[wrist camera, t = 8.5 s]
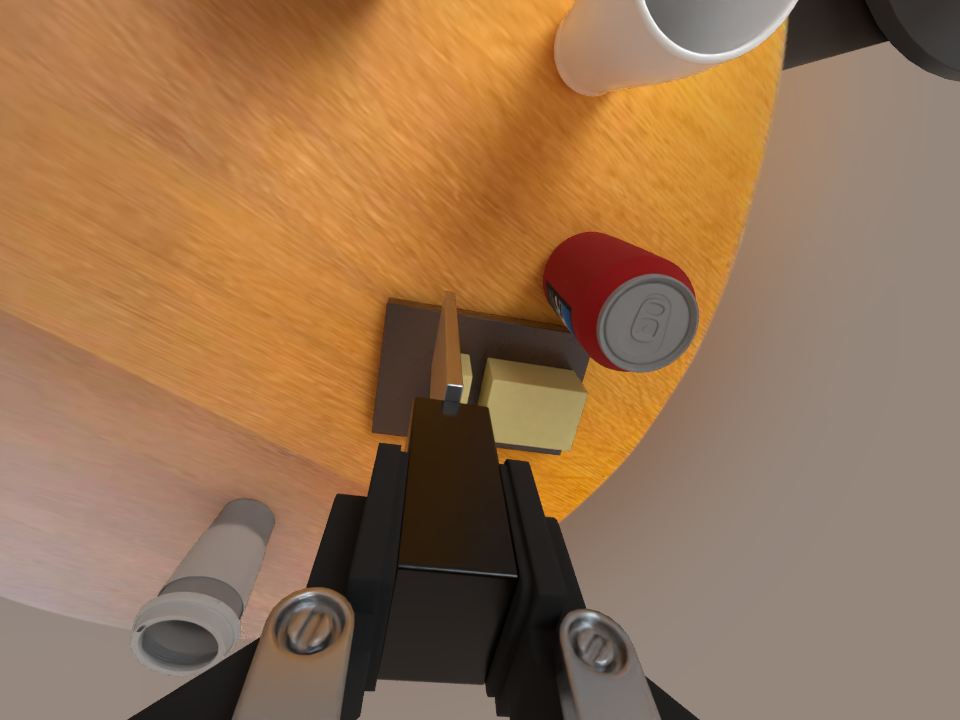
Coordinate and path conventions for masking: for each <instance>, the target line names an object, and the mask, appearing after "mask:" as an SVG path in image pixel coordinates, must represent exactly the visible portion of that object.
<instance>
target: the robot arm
mask: <svg viewBox="0 0 960 720" xmlns="http://www.w3.org/2000/svg"><path fill="white" fill-rule="evenodd" d="M408 458H409V453H408V452H402V451H401V445H394V444H387V443H379V446H378V451H377V455H376V460H375V464H374V468H373V473H372V477H371V482H370V486H369V491H368V495H367V497H364V496H355V495H346V494H337V495H336V497H335V499H334V502H333V505H332V509H331V512H330V515H329V518H328V521H327V524H326V527H325V531H324V534H323V537H322V540H321V543H320V546H319V549H318V552H317V556H316V559H315V562H314V565H313V568H312V571H311V574H310V577H309V581H308V584H307V587H306V588H305V589H302V590H299V591H296V592H293V593H292V594H290V595H288V596H287V597H285V598H283V599H282V600H281V601H280V602H279V603H278V604H277V605H276V606H275V607H274V608H273V609H272V611H271V613H270V615H269V616H268V618H267V620H266V623H265V626H264V628H263V631H262V634H261V637H260V638H258V639H257V640H255V641H253V642H252V643H250V644H249V645H247V646H245V647H244V648H242V649H241V650H239V651H237V652H236V653H234V654H233V655H231V656H229V657H228V658H226V659H224V660H223V661H221V662H220V663H218V664H216V665H215V666H213V667H211V668H210V669H208V670H207V671H205V672H203V673H202V674H200V675H199V676H197V677H195V678H194V679H192V680H190V681H189V682H187V683H186V684H184V685H182V686H181V687H179V688H178V689H176V690H174V691H173V692H171V693H170V694H168V695H166V696H165V697H163V698H161V699H160V700H158V701H157V702H155V703H153V704H152V705H150V706H149V707H147V708H145V709H144V710H142V711H141V712H139V713H137V714H136V715H134V716H132V717H131V718H129V719H128V720H356V719H358V718H359V717H360V713H361V708H362V702H363V696H364V691H375V687H376V681H377V676H378V671H379V665H380V660H381V654H382V649H383V643H384V638H385V632H386V627H387V621H388V616H389V610H390V605H391V599H392V594H393V588H394V581H395V574H396V566H397V557H398V548H399V539H400V530H401V521H402V512H403V503H404V494H405V485H406V476H407V467H408ZM499 466H500V472H501V477H502V482H503V488H504V493H505V499H506V504H507V510H508V515H509V521H510V526H511V532H512V537H513V543H514V548H515V554H516V559H517V564H518V570H519V581H518V584H517V587H516V590H515V593H514V596H513V599H512V603H511V606H510V609H509V612H508V615H507V618H506V621H505V624H504V627H503V630H502V633H501V636H500V639H499V643H498V646H497V649H496V652H495V655H494V658H493V661H492V664H491V667H490V670H489V673H488V676H487V680H486V683H485V685H486V693H487V696H488V697H495V704H496V713H497V716H502V717H510V720H699V719H698V718H697V717H695V716H694V715H693V714H692V713H691V712H689V711H688V710H687V709H685V708H684V707H683V706H682V705H681V704H679V703H678V702H677V701H676V700H674V699H673V698H672V697H671V696H669V695H668V694H667V693H666V692H664V691H663V690H662V689H661V688H659V687H658V686H657V685H656V684H655V683H653V682H652V681H651V680H650V679H648V678H647V677H646V676H645V675H644V672H643V669H642V667H641V664H640V661H639V659H638V656H637V653H636V651H635V648H634V646H633V644H632V642H631V640H630V638H629V636H628V635H627V633H626V632H625V631H624V630H623V629H622V627H621V626H620V625H619V624H618V623H616V622H615V621H614V620H613V619H611V618H610V617H609V616H606V615H604V614H603V613H601V612H599V611H595V610H591V609H586V606H585V603H584V600H583V597H582V594H581V591H580V588H579V585H578V582H577V579H576V576H575V573H574V569H573V567H572V564H571V560H570V557H569V554H568V551H567V548H566V545H565V542H564V539H563V536H562V533H561V529H560V527H559V524H558V522H557V520H556V519H555V518H553V517H545V515H544V512H543V508H542V505H541V502H540V498H539V495H538V491H537V488H536V484H535V481H534V478H533V474H532V471H531V467H530V464H529V462H527V461H519V460H511V459H506V461H505V463H504V464H499Z"/></svg>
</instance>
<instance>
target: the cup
mask: <svg viewBox="0 0 960 720" xmlns="http://www.w3.org/2000/svg"><path fill="white" fill-rule="evenodd" d="M274 524H275V519H274V516H273V514H272V512H271V511H270V509H269V508H268V507H266V506H265V505H264V504H262V503H260V502H258V501H255V500H251V499H239V500H235V501H232V502H230V503H228V504H227V505H226V506H225V507H224V508H223V510H222V511H221V512H220V514H219V515H218V516H217V518H216V519H215V520H214V522H213V523H212V525H211V526H210V527H209V529H208V530H207V531H205V532H204V533H203V534H202V535H201V537H200V538H199V539H198V541H197V542H196V543H195V545H194V546H193V547H192V549H191V550H190V551H189V553H188V554H187V555H186V557H185V558H184V559H183V561H182V562H181V563H180V565H179V566H178V567H177V569H176V570H175V572H174V573H173V574H172V576H171V577H170V578H169V580H168V581H167V582H166V584H165V585H164V586H163V588H162V589H161V590H160V592H159V594H158V596H157V597H156V598H154V599H152V600H150V601H149V602H147V603H146V604H145V605H144V606H143V607H142V608H141V609H140V610H139V612H138V613H137V615H136V618H135V621H134V625H133V634H132V636H131V641H130V645H131V650H132V652H133V654H134V656H135V657H136V658H137V660H138V661H139V662H140V663H142V664H143V665H144V666H146V667H148V668H149V669H151V670H153V671H155V672H158V673H161V674H165V675H169V676H177V677H180V676H182V677H183V676H184V677H185V676H186V677H187V676H195V675H199V674H202V673H203V672H205V671H207V670H208V669H210V668H211V667H213V666H215V665H216V664H218V663H220V662H221V660H222V659H223V657H224V656H226V654H228V653H229V652H230V651H231V650H232V649H233V647H234V646H235V645H236V643H237V642H238V640H239V637H240V634H241V624H240V619H241V618H242V615H243V613H244V610H245V607H246V605H247V602H248V599H249V596H250V594H251V591H252V588H253V586H254V583H255V580H256V578H257V575H258V572H259V570H260V567H261V564H262V562H263V559H264V556H265V549H266V546H267V543H268V541H269V538H270V535H271V533H272V530H273V527H274Z"/></svg>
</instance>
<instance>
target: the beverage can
mask: <svg viewBox="0 0 960 720" xmlns="http://www.w3.org/2000/svg"><path fill="white" fill-rule="evenodd" d="M543 288H544V292H545V296H546V298H547V300H548V302H549V304H550V305H551V307H552V308H553V309H554V311H555V312H556V314H557V315H558V316H559V318H560V319H561V320H562V322H563V323H564V324H565V326H566V327H567V328H568V330H569V331H570V332H571V333H572V335H573V336H574V337H575V339H576V340H577V341H578V342H579V344H580V345H581V346H582V347H583V348H584V350H585V351H586V352H587V353H588V355H589V356H590V357H591V358H592V359H593V360H595V361H596V362H597V363H599V364H600V365H602V366H604V367H606V368H609V369H612V370H617V371H624V372H638V373H639V372H651V371H655V370H658V369H661V368H663V367H665V366H667V365H669V364H671V363H672V362H674V361H675V360H676V359H678V358H679V357H680V356H681V355H682V354H683V353H684V352H685V351H686V349H687V348H688V347H689V345H690V344H691V342H692V340H693V338H694V336H695V334H696V331H697V327H698V322H699V310H698V305H697V302H696V297H695V292H694V289H693V286H692V284H691V282H690V280H689V278H688V277H687V275H686V274H685V273H684V272H683V271H682V270H681V269H680V268H679V267H678V266H677V265H675V264H674V263H672V262H670V261H668V260H666V259H664V258H662V257H659V256H657V255H655V254H653V253H650V252H648V251H646V250H644V249H641V248H639V247H636V246H634V245H632V244H629V243H627V242H624V241H622V240H620V239H617V238H614V237H612V236H609V235H606V234H603V233H598V232H586V233H581V234H577V235H575V236H572V237H570V238H568V239H567V240H565V241H564V242H563V243H561V244H560V245H559V246H558V247H557V248H556V249H555V250H554V252H553V253H552V254H551V256H550V258H549V259H548V261H547V264H546V266H545V270H544V275H543Z"/></svg>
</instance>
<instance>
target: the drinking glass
mask: <svg viewBox="0 0 960 720" xmlns="http://www.w3.org/2000/svg"><path fill="white" fill-rule="evenodd" d="M797 1H798V0H574V2H573V4H572V6H571V7H570V9H569V10H568V11H567V12H566V14H565V15H564V17H563V19H562V20H561V22H560V24H559V27H558V29H557V32H556V36H555V42H554V59H555V64H556V67H557V70H558V73H559V75H560V77H561V78H562V80H563V81H564V83H565V84H566V85H567V86H568V87H569V88H570V89H572V90H573V91H575V92H577V93H579V94H582V95H585V96H600V95H604V94H607V93H609V92H612V91H617V90H623V89H630V88H637V87H644V86H651V85H657V84H663V83H669V82H673V81H677V80H681V79H685V78H688V77H691V76H694V75H697V74H700V73H702V72H705V71H708V70H710V69H713V68H715V67H717V66H720V65H722V64H724V63H726V62H728V61H730V60H732V59H735V58H737V57H740V56H742V55H744V54H746V53H748V52H749V51H751V50H752V49H754V48H756V47H757V46H758V45H760V44H761V43H762V42H764V41H765V40H766V39H767V38H768V37H769V36H770V35H772V34H773V33H774V31H775V30H776V29H777V28H778V27H779V26H780V25H781V24H782V23H783V21H784V20H785V19H786V18H787V16H788V15H789V14H790V12H791V11H792V9H793V8H794V6H795V4H796V3H797Z"/></svg>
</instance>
